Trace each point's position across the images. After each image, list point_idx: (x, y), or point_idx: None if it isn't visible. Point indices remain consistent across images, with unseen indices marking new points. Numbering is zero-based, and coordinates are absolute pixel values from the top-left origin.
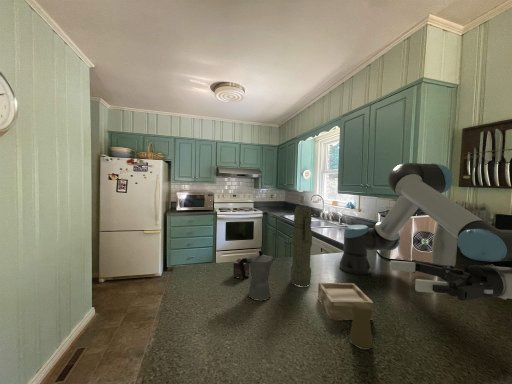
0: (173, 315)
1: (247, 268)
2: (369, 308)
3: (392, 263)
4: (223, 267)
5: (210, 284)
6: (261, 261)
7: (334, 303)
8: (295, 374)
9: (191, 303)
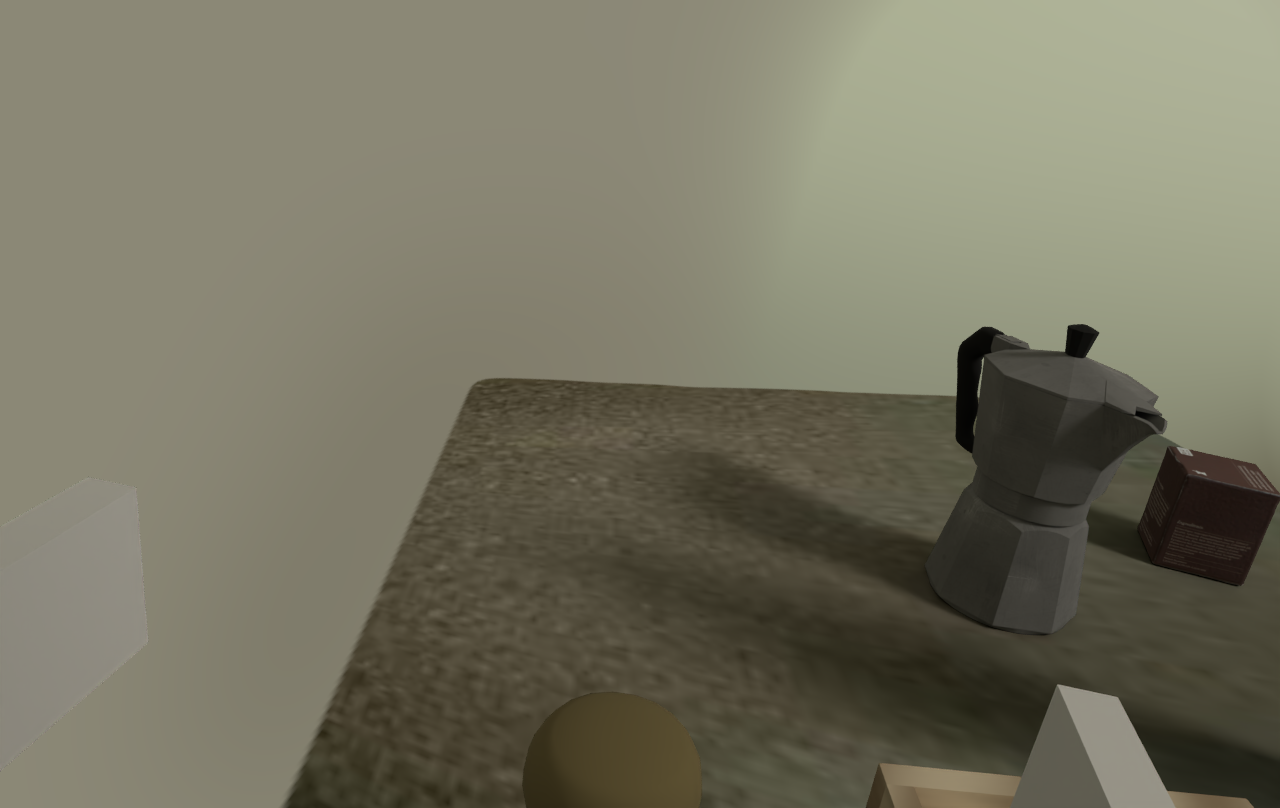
0: (732, 402)
1: (1217, 522)
2: (565, 769)
3: (1050, 736)
4: None
5: None
6: (1004, 365)
7: (883, 797)
8: (401, 599)
9: (818, 428)
